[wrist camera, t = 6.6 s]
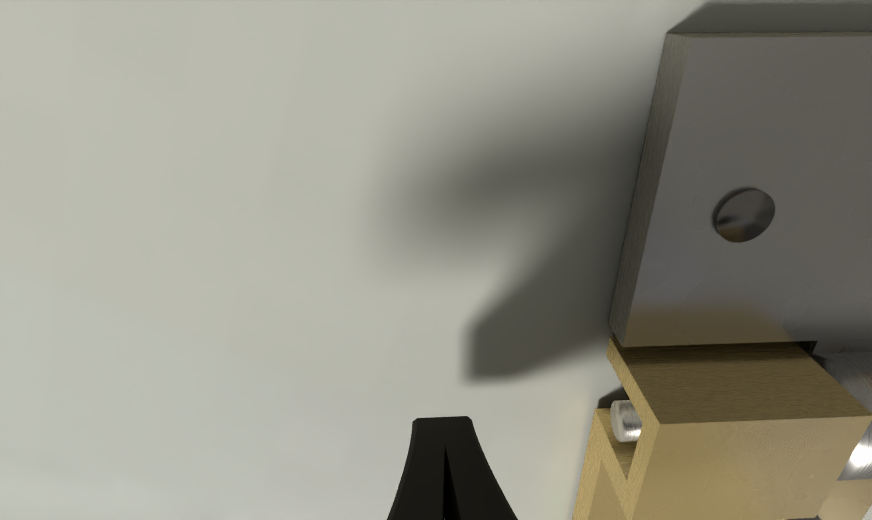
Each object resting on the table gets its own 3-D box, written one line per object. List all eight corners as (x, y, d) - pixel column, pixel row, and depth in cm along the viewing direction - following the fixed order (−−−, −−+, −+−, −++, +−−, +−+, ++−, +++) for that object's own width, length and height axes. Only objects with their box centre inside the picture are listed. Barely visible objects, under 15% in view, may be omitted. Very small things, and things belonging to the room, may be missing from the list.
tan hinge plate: (800, 554, 19) (865, 648, 16) (562, 566, 18) (588, 664, 16) (936, 325, 13) (1064, 408, 11) (610, 336, 13) (660, 424, 10)
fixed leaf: (879, 407, 15) (985, 502, 12) (588, 418, 15) (630, 518, 12) (1099, 29, 10) (1362, 46, 7) (665, 33, 10) (769, 52, 7)
